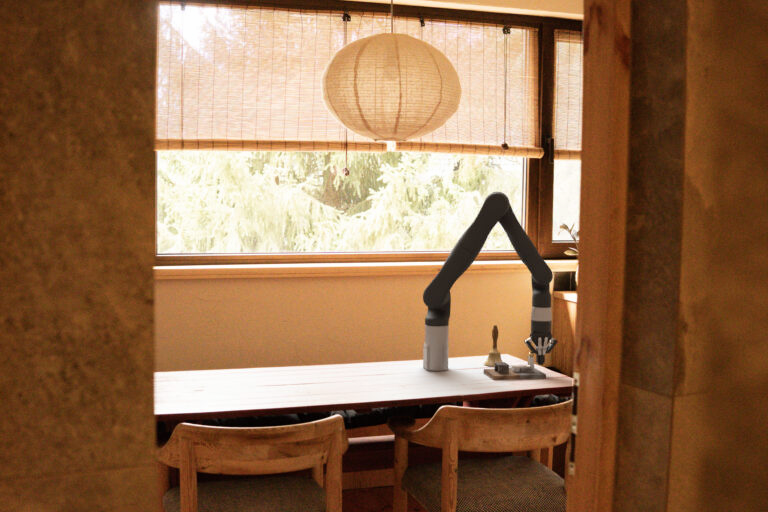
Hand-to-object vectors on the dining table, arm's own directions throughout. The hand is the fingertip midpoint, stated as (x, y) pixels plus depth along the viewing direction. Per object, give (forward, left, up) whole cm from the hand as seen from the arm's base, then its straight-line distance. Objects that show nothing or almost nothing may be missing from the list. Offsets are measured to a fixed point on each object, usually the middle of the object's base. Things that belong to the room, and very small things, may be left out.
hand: (540, 364), depth 265 cm
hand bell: (-11, +20, -4) cm, 23 cm away
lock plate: (-10, 0, -4) cm, 11 cm away
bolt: (-7, 0, -2) cm, 7 cm away
